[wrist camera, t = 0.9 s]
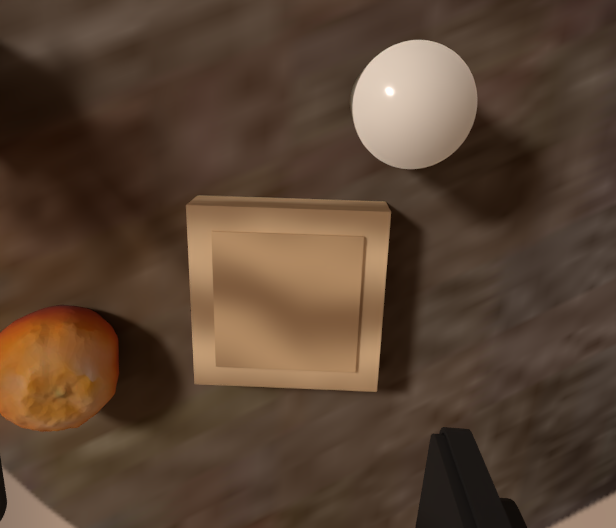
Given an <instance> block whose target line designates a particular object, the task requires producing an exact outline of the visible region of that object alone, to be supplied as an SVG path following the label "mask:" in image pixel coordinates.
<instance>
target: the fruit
mask: <svg viewBox="0 0 616 528" xmlns="http://www.w3.org/2000/svg"><path fill="white" fill-rule="evenodd" d="M118 353H119V345H118V337H117V335H116V333H115V331H114V329H113V328H112V326H111V325H110V324H109V323H108V322H107V321H106V320H104V319H103V318H102V317H101V316H100V315H99V314H97V313H96V312H94V311H92V310H90V309H88V308H83V307H77V306H68V305H57V306H52V307H47V308H43V309H41V310H38V311H35V312H33V313H30V314H28V315H26V316H24V317H22V318H20V319H17V320H16V321H14V322H13V323H12V324H10V325H9V326H8V327H6V328H5V329H4V330H3V331H2V332H1V333H0V413H1V415H2V416H3V417H5V418H6V419H7V420H10V421H11V422H13V423H14V424H16V425H18V426H20V427H22V428H27V429H31V430H38V431H59V430H65V429H68V428H77V427H79V426H80V425H82V424H83V423H85V422H86V421H87V420H88V419H90V418H91V417H93V416H94V415H96V414H97V413H98V412H99V411H100V410H101V409H102V408H103V407H104V405H105V404H106V403H107V402H109V400H110V399H111V398H112V397H113V395H114V394H115V391H116V385H117V381H118V377H119V355H118Z"/></svg>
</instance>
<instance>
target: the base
mask: <svg viewBox="0 0 616 528" xmlns="http://www.w3.org/2000/svg"><path fill="white" fill-rule="evenodd" d="M186 215H187V236H188V257H189V278H190V299H191V320H192V341H193V362H194V383H195V384H205V385H229V386H253V387H277V388H301V389H324V390H348V391H372V392H377V384H378V371H379V359H380V346H381V334H382V321H383V308H384V296H385V283H386V270H387V258H388V245H389V233H390V220H391V211H390V209H389V207H388V205H387V203H386V202H384V201H354V200H324V199H294V198H264V197H234V196H205V195H198V196H196V197H195V198H194V199H193V200H192V201H190V202H189V203H188V204H187V205H186Z"/></svg>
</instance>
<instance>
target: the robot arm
mask: <svg viewBox="0 0 616 528" xmlns="http://www.w3.org/2000/svg"><path fill="white" fill-rule="evenodd" d="M6 506H7V498H6V491H5V485H4V478H3V471H2V465H1V458H0V521H1V519H2V518H3V515H4V513H5V510H6ZM416 528H527V526H526V524H525V522H524V520H523V517H522V515H521V513H520V511H519V509H518V507H517V505H516V504H515V502H514V501H513V500H511V499H508V498H499V496H498V493H497V491H496V489H495V486H494V484H493V481H492V479H491V477H490V474H489V472H488V470H487V467H486V465H485V463H484V460H483V458H482V456H481V453H480V451H479V448H478V446H477V444H476V441H475V439H474V437H473V434H472V432H471V431H470V430H469V429H460V428H447V427H443V428H441V430H440V434H432V435H431V439H430V444H429V450H428V456H427V462H426V468H425V474H424V480H423V486H422V492H421V498H420V504H419V510H418V516H417V522H416Z"/></svg>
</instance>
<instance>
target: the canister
mask: <svg viewBox="0 0 616 528" xmlns="http://www.w3.org/2000/svg"><path fill="white" fill-rule="evenodd" d="M476 111H477V90H476V85H475V81H474V79H473V76H472V74H471V72H470V70H469V68H468V66H467V65H466V63H465V62H464V61H463V60H462V59H461V58H460V56H459V55H457V54H456V53H455V52H454V51H452V50H451V49H449V48H448V47H446V46H444V45H442V44H439V43H436V42H432V41H427V40H411V41H405V42H402V43H399V44H395V45H393V46H391V47H389V48H387V49H386V50H384V51H383V52H381V53H380V54H378V55H377V56H376V57H375V58H374V59H373V60H372V61H371V62H370V63H369V64H368V65H367V66H366V68H365V69H364V70H363V71H362V72H361V73H360V75H359V76H358V78H357V79H356V81H355V83H354V85H353V88H352V91H351V95H350V113H351V117H352V120H353V122H354V126H355V129H356V131H357V134H358V136H359V138H360V139H361V141H362V143H363V144H364V145H365V147H366V148H367V149H368V150H369V151H370V152H371V153H372V154H373V155H374V156H375V157H376V158H378V159H379V160H381V161H382V162H384V163H386V164H388V165H391V166H394V167H398V168H403V169H419V168H425V167H428V166H432V165H434V164H437V163H439V162H441V161H442V160H444V159H446V158H447V157H449V156H450V155H451V154H453V153H454V152H455V151H456V150H457V149H458V148H459V147H460V146H461V144H462V143H463V142H464V141H465V139H466V137H467V136H468V134H469V132H470V130H471V128H472V126H473V123H474V120H475V116H476Z"/></svg>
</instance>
